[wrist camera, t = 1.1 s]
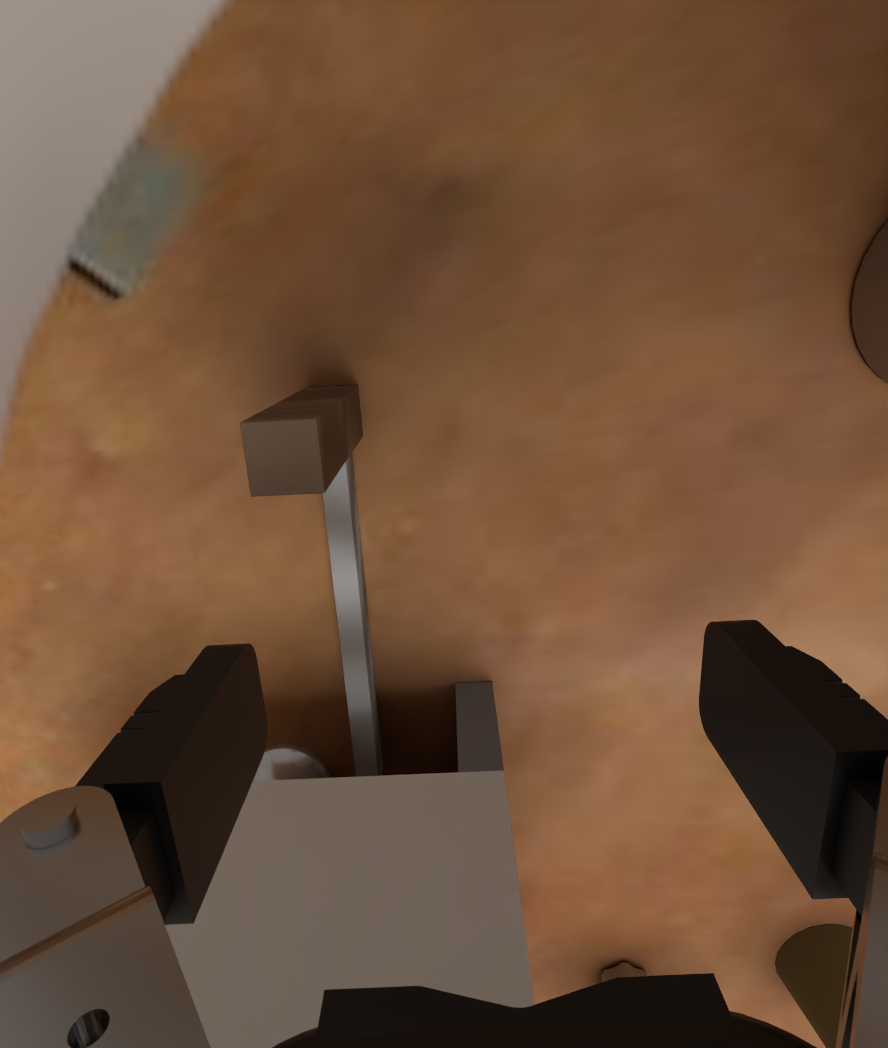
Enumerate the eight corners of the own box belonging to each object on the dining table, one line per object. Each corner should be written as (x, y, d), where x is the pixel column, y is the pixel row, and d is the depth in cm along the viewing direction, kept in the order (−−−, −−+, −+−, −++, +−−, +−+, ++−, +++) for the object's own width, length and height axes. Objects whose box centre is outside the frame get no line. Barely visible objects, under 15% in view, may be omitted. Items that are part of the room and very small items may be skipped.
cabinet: (147, 696, 34) (-183, 1120, 16) (492, 681, 34) (546, 1095, 16) (209, 959, 41) (22, 1472, 23) (500, 948, 40) (545, 1460, 22)
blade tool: (306, 387, 29) (239, 423, 19) (358, 384, 29) (316, 418, 19) (351, 765, 36) (318, 928, 26) (393, 764, 36) (375, 926, 26)
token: (240, 741, 36) (234, 753, 35) (327, 738, 36) (323, 749, 35) (253, 811, 37) (248, 824, 36) (336, 807, 37) (333, 820, 36)
